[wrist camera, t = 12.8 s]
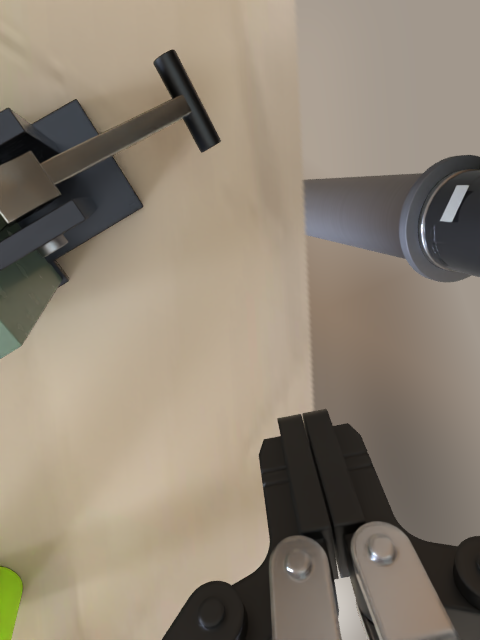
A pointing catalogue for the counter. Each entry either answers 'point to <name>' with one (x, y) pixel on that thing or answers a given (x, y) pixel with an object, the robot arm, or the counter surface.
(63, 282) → the toaster
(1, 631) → the soap dispenser
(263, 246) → the counter surface
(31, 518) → the counter surface
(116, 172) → the lever bracket
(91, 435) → the counter surface
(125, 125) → the lever
